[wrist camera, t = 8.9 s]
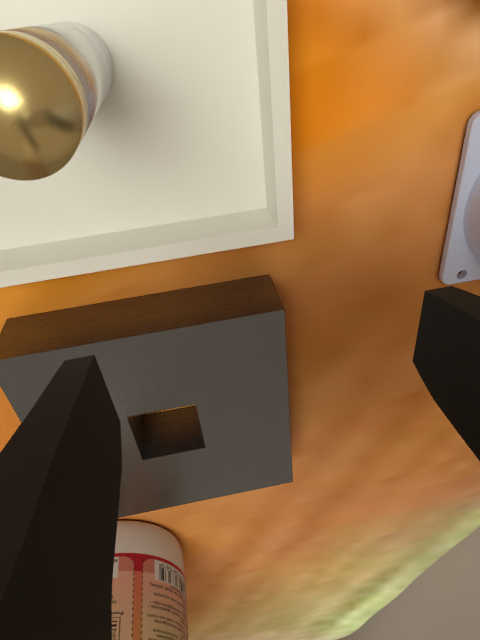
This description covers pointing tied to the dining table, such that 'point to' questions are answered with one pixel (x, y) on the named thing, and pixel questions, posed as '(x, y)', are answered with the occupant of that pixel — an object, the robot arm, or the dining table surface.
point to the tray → (162, 141)
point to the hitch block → (174, 385)
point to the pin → (48, 95)
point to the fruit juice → (148, 584)
